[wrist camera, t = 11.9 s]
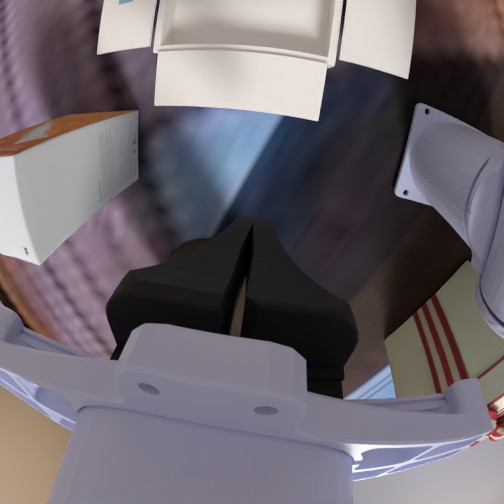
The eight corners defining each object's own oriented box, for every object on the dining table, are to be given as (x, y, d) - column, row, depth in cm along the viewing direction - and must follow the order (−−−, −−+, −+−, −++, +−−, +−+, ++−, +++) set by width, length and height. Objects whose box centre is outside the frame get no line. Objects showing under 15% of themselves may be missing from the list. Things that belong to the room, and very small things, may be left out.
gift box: (361, 358, 32) (375, 482, 18) (458, 251, 22) (538, 393, 8) (436, 374, 34) (457, 466, 20) (516, 295, 24) (565, 391, 10)
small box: (140, 108, 19) (13, 153, 8) (140, 180, 22) (41, 270, 11) (68, 112, 19) (-46, 160, 8) (72, 174, 22) (-24, 245, 12)
